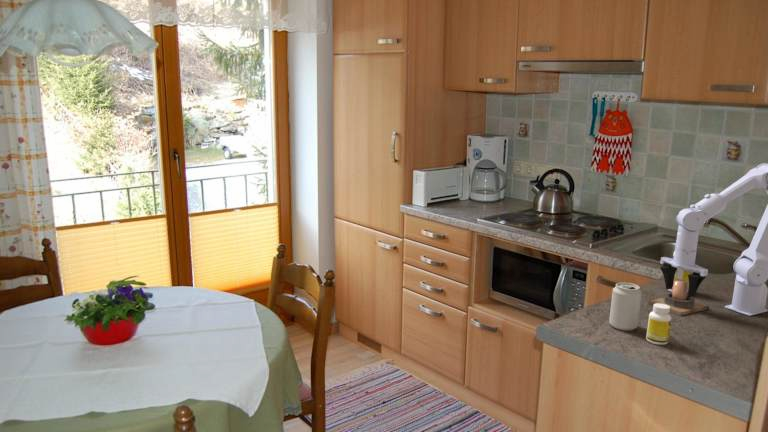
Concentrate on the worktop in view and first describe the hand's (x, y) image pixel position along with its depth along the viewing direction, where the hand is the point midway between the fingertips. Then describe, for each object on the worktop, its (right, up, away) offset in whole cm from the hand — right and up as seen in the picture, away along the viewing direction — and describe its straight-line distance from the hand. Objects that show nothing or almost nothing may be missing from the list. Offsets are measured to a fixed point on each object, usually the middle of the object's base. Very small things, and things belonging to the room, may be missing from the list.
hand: (679, 292), depth 194 cm
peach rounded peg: (0, -3, +1) cm, 3 cm away
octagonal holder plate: (0, -4, +1) cm, 4 cm away
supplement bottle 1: (-18, -10, -26) cm, 33 cm away
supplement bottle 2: (+6, -2, +16) cm, 17 cm away
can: (-23, -8, -17) cm, 30 cm away
